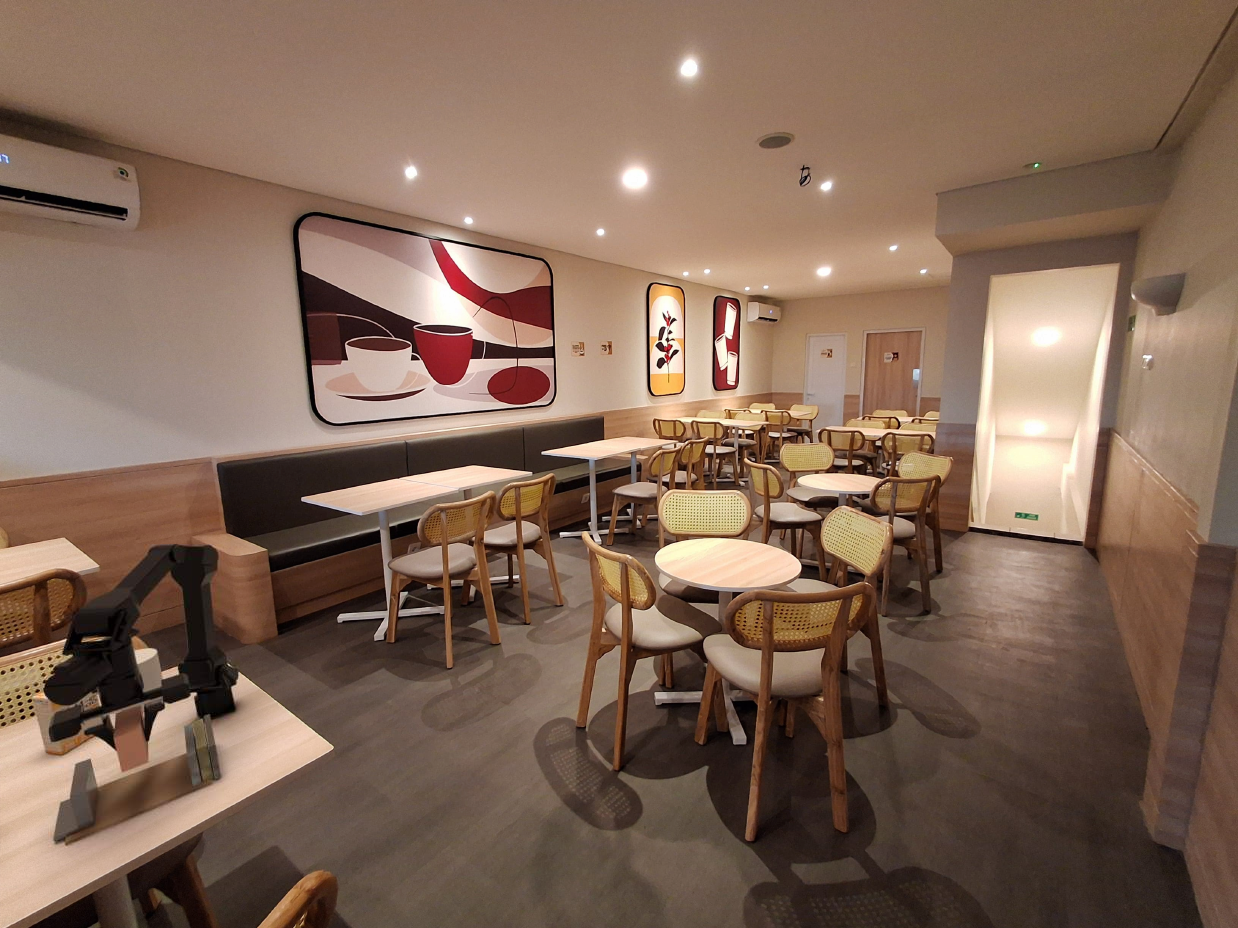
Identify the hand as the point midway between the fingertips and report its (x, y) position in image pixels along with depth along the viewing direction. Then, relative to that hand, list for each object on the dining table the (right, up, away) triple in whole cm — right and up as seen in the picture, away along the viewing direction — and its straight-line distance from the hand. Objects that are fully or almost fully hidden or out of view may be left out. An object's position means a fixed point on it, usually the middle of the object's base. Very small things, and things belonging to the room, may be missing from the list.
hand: (133, 745), depth 100 cm
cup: (-23, -5, +28) cm, 36 cm away
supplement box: (-26, -7, +16) cm, 32 cm away
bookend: (-7, -10, -4) cm, 13 cm away
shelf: (+1, -10, +2) cm, 10 cm away
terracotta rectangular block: (0, -2, 0) cm, 2 cm away
